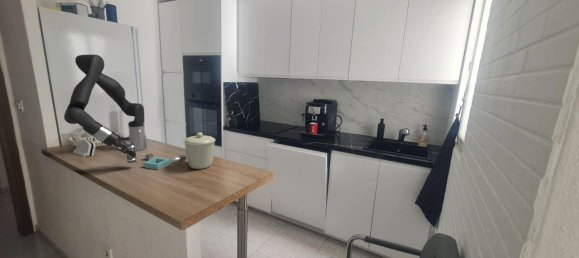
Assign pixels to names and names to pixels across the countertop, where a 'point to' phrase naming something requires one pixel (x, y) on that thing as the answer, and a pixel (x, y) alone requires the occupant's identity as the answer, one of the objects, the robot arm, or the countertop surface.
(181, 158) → the shaft
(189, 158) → the canister
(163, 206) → the countertop surface
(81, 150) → the hinge
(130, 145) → the coupler
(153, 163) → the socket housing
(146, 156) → the shaft
